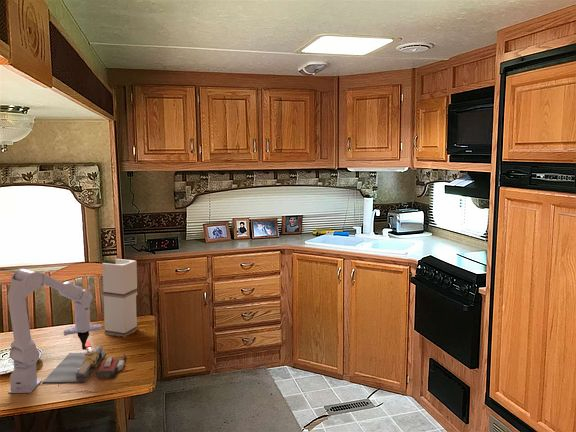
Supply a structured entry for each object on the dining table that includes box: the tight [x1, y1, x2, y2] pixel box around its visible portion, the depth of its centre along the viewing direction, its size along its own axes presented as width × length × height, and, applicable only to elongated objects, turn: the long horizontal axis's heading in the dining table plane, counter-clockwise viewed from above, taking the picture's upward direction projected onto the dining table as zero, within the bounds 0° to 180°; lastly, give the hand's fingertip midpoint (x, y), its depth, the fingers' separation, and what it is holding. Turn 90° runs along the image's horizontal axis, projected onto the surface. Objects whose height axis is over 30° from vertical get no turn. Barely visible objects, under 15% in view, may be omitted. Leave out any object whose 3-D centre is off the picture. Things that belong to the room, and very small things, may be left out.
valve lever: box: [85, 340, 94, 355], centre depth 198 cm, size 12×3×1 cm, turn 30°
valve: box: [76, 345, 105, 378], centre depth 194 cm, size 22×4×5 cm, turn 3°
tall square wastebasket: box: [101, 258, 139, 338], centre depth 231 cm, size 11×11×35 cm
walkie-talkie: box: [96, 353, 127, 379], centre depth 195 cm, size 9×4×20 cm
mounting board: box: [42, 352, 107, 384], centre depth 194 cm, size 26×16×1 cm, turn 3°
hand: (83, 348), depth 199 cm, fingers closed, pressing on valve lever
